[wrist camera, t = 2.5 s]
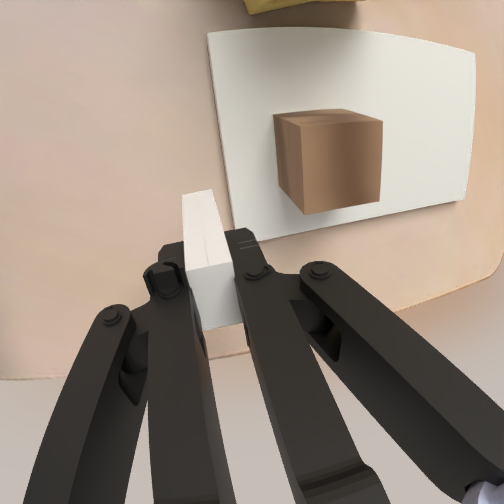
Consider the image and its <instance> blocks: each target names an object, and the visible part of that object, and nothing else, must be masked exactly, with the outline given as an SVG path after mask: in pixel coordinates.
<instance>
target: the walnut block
mask: <svg viewBox="0 0 504 504" xmlns="http://www.w3.org/2000/svg"><path fill="white" fill-rule="evenodd" d="M272 122H273V133H274V144H275V155H276V167H277V179H278V185H279V187H280V188H281V189H282V190H283V191H284V192H285V193H286V195H287V196H288V197H289V198H290V199H291V200H292V201H293V203H294V204H295V205H296V206H297V207H298V208H299V210H300V211H301V212H302V213H303V214H304V215H309V214H314V213H320V212H325V211H330V210H335V209H341V208H346V207H351V206H357V205H362V204H368V203H373V202H379V201H380V187H381V170H382V145H383V121H382V120H379V119H376V118H372V117H369V116H366V115H363V114H360V113H356V112H353V111H349V110H346V109H342V108H336V109H319V110H306V111H294V112H284V113H275V114H272Z"/></svg>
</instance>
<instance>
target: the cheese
mask: <svg viewBox="0 0 504 504" xmlns="http://www.w3.org/2000/svg"><path fill="white" fill-rule="evenodd" d="M311 1H322V2H329V1H364V0H244V3H245V6H246V9H247V11H248V14H249V15H254V14H258V13H262V12H266V11H271V10H275V9H280V8H285V7H290V6H294V5H298V4H302V3H306V2H311Z"/></svg>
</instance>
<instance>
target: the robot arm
mask: <svg viewBox="0 0 504 504" xmlns="http://www.w3.org/2000/svg"><path fill="white" fill-rule="evenodd" d="M182 213H183V237H184V241H181V242H176V243H172V244H167V245H164V246H163V247H162V248H161V250H160V251H159V253H158V262H156V263H154V264H153V265H151V266H149V267H148V268H147V269H146V270H145V272H144V274H143V278H144V281H145V283H146V286H147V289H148V291H149V294H150V301H148V302H147V303H146V304H144V305H142V306H141V307H138V308H136V309H134V310H132V311H130V310H129V308H128V307H127V306H125V305H122V304H116V305H111V306H109V307H106V308H104V309H103V310H102V311H101V312H99V314H98V315H97V316H96V318H95V320H94V322H93V324H92V326H91V328H90V330H89V332H88V334H87V336H86V338H85V340H84V342H83V344H82V346H81V348H80V350H79V353H78V355H77V357H76V359H75V361H74V363H73V366H72V368H71V370H70V372H69V375H68V377H67V379H66V382H65V384H64V386H63V389H62V391H61V393H60V396H59V398H58V401H57V403H56V406H55V408H54V411H53V413H52V416H51V418H50V421H49V424H48V426H47V429H46V432H45V434H44V437H43V440H42V443H41V446H40V449H39V452H38V455H37V458H36V461H35V464H34V467H33V470H32V473H31V477H30V480H29V483H28V487H27V490H26V494H25V498H24V501H23V504H124V503H125V498H126V492H127V487H128V482H129V477H130V473H131V468H132V463H133V459H134V454H135V450H136V445H137V441H138V437H139V432H140V428H141V424H142V420H143V415H144V411H145V407H146V403H147V400H148V426H149V448H150V464H151V475H152V488H153V498H154V504H237V503H236V500H235V495H234V491H233V486H232V482H231V477H230V473H229V468H228V464H227V459H226V454H225V450H224V444H223V439H222V435H221V429H220V424H219V419H218V413H217V408H216V402H215V397H214V392H213V385H212V379H211V374H210V367H209V361H208V355H207V348H206V342H205V338H204V335H203V332H202V329H203V331H205V330H210V329H214V328H219V327H224V326H229V325H233V324H238V323H242V322H243V324H244V329H245V334H246V340H247V345H248V346H249V348H250V352H251V355H252V359H253V362H254V366H255V370H256V373H257V377H258V380H259V384H260V387H261V391H262V394H263V397H264V401H265V404H266V408H267V411H268V415H269V418H270V422H271V425H272V428H273V432H274V435H275V438H276V442H277V445H278V448H279V451H280V455H281V458H282V461H283V464H284V468H285V471H286V474H287V478H288V481H289V484H290V487H291V490H292V493H293V496H294V500H295V502H296V504H391V503H390V501H389V499H388V497H387V494H386V492H385V490H384V488H383V485H382V483H381V481H380V479H379V477H378V476H377V474H376V473H375V471H374V470H373V469H372V468H371V467H369V466H367V465H366V464H365V463H364V462H363V461H362V459H361V457H360V455H359V453H358V451H357V449H356V446H355V444H354V442H353V440H352V437H351V435H350V433H349V431H348V428H347V426H346V424H345V422H344V419H343V417H342V415H341V413H340V411H339V408H338V406H337V404H336V402H335V399H334V398H333V395H332V393H331V391H330V389H329V386H328V384H327V382H326V380H325V377H324V375H323V373H322V371H321V369H320V366H319V364H318V362H317V360H316V358H315V355H314V353H313V351H312V349H311V347H310V345H311V346H312V347H313V348H314V350H315V351H316V352H317V353H318V354H319V355H320V356H321V358H322V359H323V360H324V361H325V362H326V363H327V365H328V366H329V367H330V368H331V369H332V370H333V372H334V373H336V375H337V376H338V377H339V378H340V380H341V381H342V382H343V383H344V384H345V385H346V386H347V388H348V389H349V390H350V391H351V392H352V393H353V394H354V396H355V397H356V398H357V399H358V400H359V401H360V402H361V403H362V405H363V406H364V407H365V408H366V409H367V410H368V411H369V412H370V414H371V415H372V416H373V417H374V418H375V419H376V421H378V423H379V424H380V425H381V426H382V427H383V428H384V429H385V431H386V432H387V433H388V434H389V435H390V436H391V437H392V438H393V439H394V441H395V442H396V443H397V444H398V445H399V446H400V447H401V449H402V450H403V451H404V452H405V453H406V454H407V455H408V456H409V457H410V459H411V460H412V461H413V462H414V463H415V464H416V465H417V466H418V467H419V468H420V470H421V471H422V472H423V473H424V474H425V475H426V476H427V477H428V478H429V479H430V480H431V481H432V482H433V483H434V484H435V485H436V486H437V487H438V488H439V489H440V490H441V491H442V492H444V493H445V494H447V495H448V496H449V497H451V498H452V499H454V500H456V501H458V502H460V503H461V504H504V410H503V409H502V408H500V407H499V406H498V405H497V404H496V403H495V402H494V401H493V400H492V399H491V398H490V397H489V396H488V395H487V394H485V393H484V392H483V391H482V390H481V389H480V388H479V387H478V386H477V385H476V384H474V383H473V382H472V381H471V380H470V379H469V378H468V377H467V376H466V375H465V374H464V373H462V372H461V371H460V370H459V369H458V368H457V367H456V366H454V364H452V363H451V362H450V361H449V360H448V359H447V358H446V357H444V356H443V355H442V354H441V353H440V352H439V351H438V350H437V349H435V348H434V347H433V346H432V345H431V344H430V343H428V342H427V341H426V340H425V339H424V338H423V337H422V336H420V335H419V334H418V333H417V332H416V331H414V330H413V329H412V328H411V327H410V326H409V325H407V324H406V323H405V322H404V321H403V320H402V319H400V318H399V317H398V316H397V315H396V314H394V313H393V312H392V311H391V310H390V309H388V308H387V307H386V306H385V305H384V304H382V303H381V302H380V301H379V300H378V299H376V298H375V297H374V296H373V295H372V294H370V293H369V292H368V291H367V290H365V289H364V288H363V287H362V286H361V285H359V284H358V283H357V282H356V281H354V280H353V279H352V278H351V277H349V276H348V275H347V274H346V273H344V272H343V271H342V270H341V269H339V268H338V267H337V266H335V265H334V264H332V263H330V262H325V261H314V262H310V263H308V264H306V265H304V266H303V267H302V268H301V270H300V274H283V273H278V272H276V271H275V269H274V268H273V267H272V266H271V265H269V264H267V262H266V260H265V257H264V255H263V253H262V251H261V249H260V246H259V245H258V242H257V240H256V238H255V236H254V233H253V232H252V231H250V230H249V229H247V228H246V227H245V228H240V229H235V230H230V231H225V232H224V231H223V227H222V224H221V220H220V217H219V213H218V210H217V206H216V203H215V199H214V196H213V192H212V189H209V190H204V191H199V192H194V193H189V194H185V195H182Z"/></svg>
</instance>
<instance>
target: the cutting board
mask: <svg viewBox="0 0 504 504" xmlns="http://www.w3.org/2000/svg"><path fill="white" fill-rule="evenodd" d="M206 37H207V45H208V52H209V60H210V67H211V74H212V82H213V89H214V96H215V103H216V110H217V117H218V124H219V131H220V138H221V145H222V152H223V158H224V165H225V172H226V179H227V185H228V192H229V198H230V205H231V211H232V218H233V224H234V230H235V229H240V228H245V227H246V228H247V229H249V230H250V231H252V232H253V233H254V236H255V238H256V240H257V242H258V241H263V240H267V239H272V238H277V237H282V236H286V235H291V234H296V233H300V232H305V231H310V230H315V229H320V228H324V227H329V226H334V225H339V224H344V223H348V222H353V221H358V220H363V219H368V218H373V217H377V216H382V215H387V214H392V213H397V212H402V211H407V210H412V209H417V208H422V207H427V206H432V205H437V204H442V203H447V202H452V201H457V200H462V199H464V198H465V192H466V186H467V180H468V174H469V167H470V159H471V150H472V141H473V130H474V116H475V88H476V70H475V53H472V52H469V51H466V50H462V49H459V48H455V47H451V46H447V45H443V44H439V43H435V42H431V41H426V40H421V39H416V38H411V37H406V36H400V35H394V34H387V33H380V32H372V31H363V30H353V29H341V28H323V27H267V28H250V29H237V30H227V31H218V32H210V33H207V34H206ZM336 108H342V109H346V110H349V111H353V112H356V113H360V114H363V115H366V116H369V117H372V118H376V119H379V120H382V121H383V145H382V170H381V187H380V201H379V202H373V203H368V204H362V205H357V206H351V207H346V208H341V209H335V210H330V211H325V212H320V213H314V214H309V215H304V214H303V213H302V212H301V211H300V210H299V208H298V207H297V206H296V205H295V204H294V203H293V201H292V200H291V199H290V198H289V197H288V196H287V195H286V193H285V192H284V191H283V190H282V189H281V188H280V187H279V185H278V179H277V167H276V155H275V144H274V133H273V122H272V114H275V113H284V112H294V111H306V110H319V109H336Z"/></svg>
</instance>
